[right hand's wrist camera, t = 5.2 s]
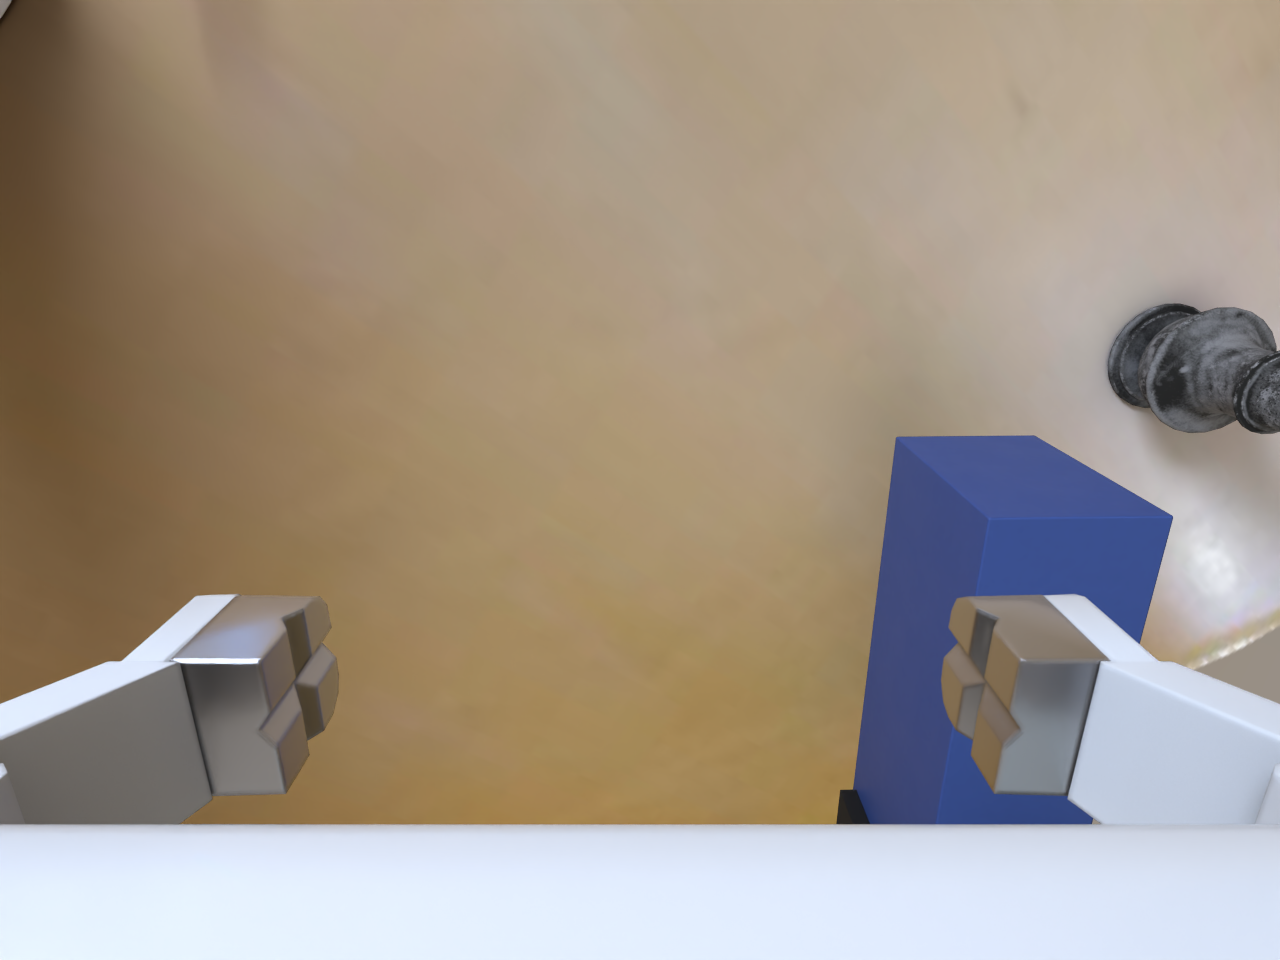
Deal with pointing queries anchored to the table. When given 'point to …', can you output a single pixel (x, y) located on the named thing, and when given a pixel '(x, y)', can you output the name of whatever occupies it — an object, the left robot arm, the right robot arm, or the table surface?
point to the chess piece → (1199, 368)
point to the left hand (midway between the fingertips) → (912, 812)
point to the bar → (983, 566)
